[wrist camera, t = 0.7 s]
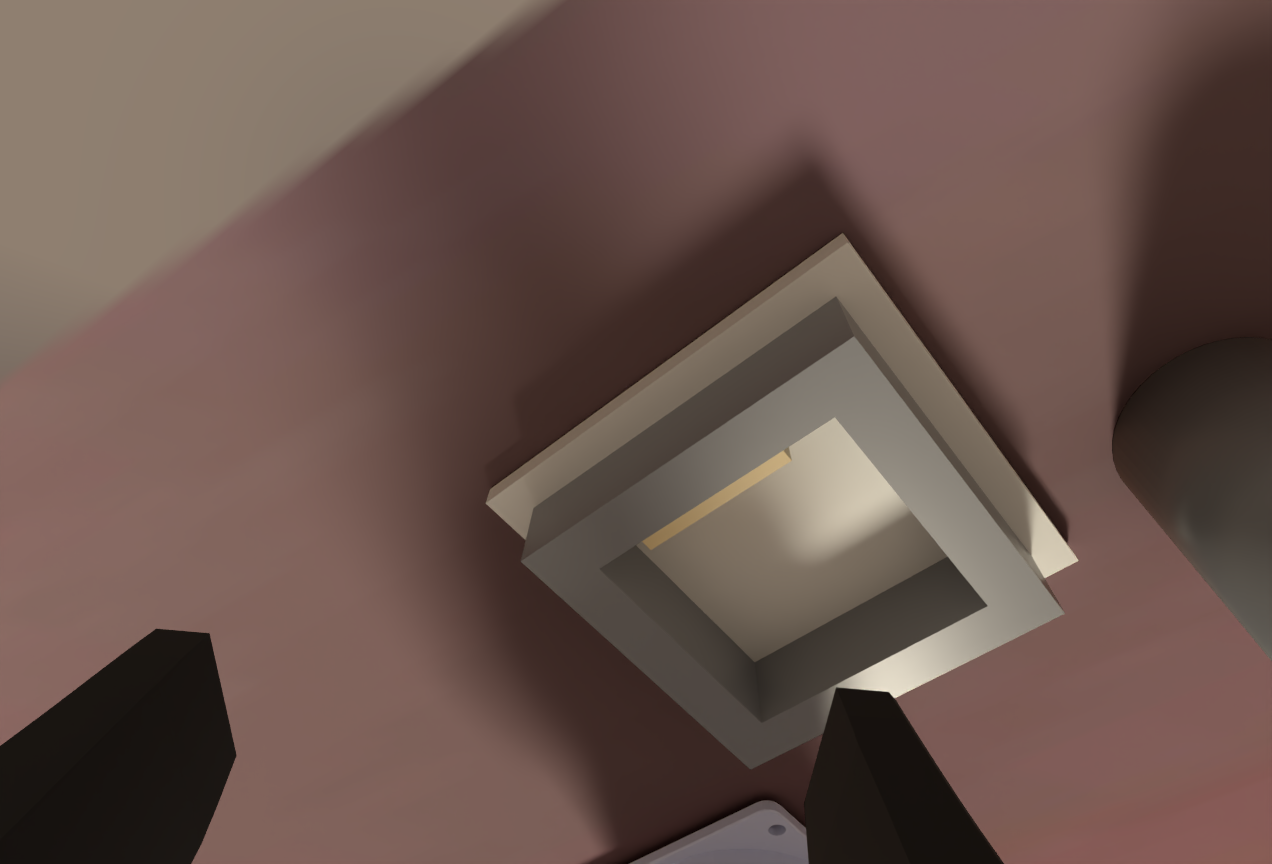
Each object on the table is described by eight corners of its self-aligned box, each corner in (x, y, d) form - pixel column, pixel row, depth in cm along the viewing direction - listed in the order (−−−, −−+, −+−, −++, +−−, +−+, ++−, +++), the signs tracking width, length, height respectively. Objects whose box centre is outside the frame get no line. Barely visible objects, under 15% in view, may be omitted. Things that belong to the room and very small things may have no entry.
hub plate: (1068, 545, 21) (1116, 617, 19) (736, 719, 24) (743, 799, 22) (842, 232, 17) (868, 276, 15) (490, 489, 21) (467, 556, 19)
